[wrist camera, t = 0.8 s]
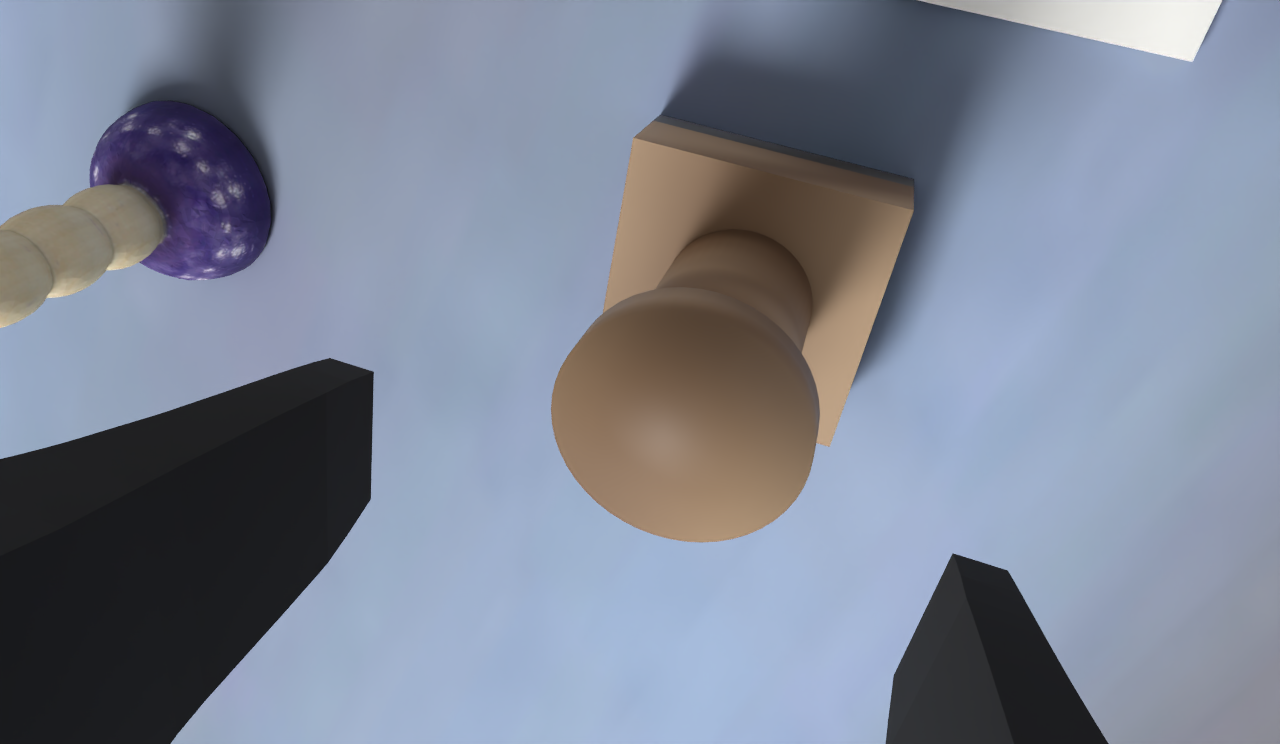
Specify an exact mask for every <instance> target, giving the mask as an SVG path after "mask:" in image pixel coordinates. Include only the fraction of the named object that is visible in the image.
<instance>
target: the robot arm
mask: <svg viewBox="0 0 1280 744" xmlns="http://www.w3.org/2000/svg"><path fill="white" fill-rule="evenodd" d="M373 376H374V372H372V371H369V370H366V369H363V368H360V367H357V366H353V365H350V364H347V363H344V362H341V361H337V360H334V359H331V358H329V359H325V360H321V361H317V362H313V363H310V364H307V365H303V366H300V367H297V368H294V369H291V370H288V371H285V372H282V373H279V374H276V375H273V376H270V377H267V378H264V379H261V380H258V381H255V382H252V383H250V384H247V385H244V386H241V387H238V388H235V389H232V390H229V391H226V392H223V393H220V394H217V395H215V396H212V397H209V398H206V399H203V400H200V401H197V402H194V403H191V404H188V405H185V406H182V407H179V408H176V409H173V410H170V411H167V412H164V413H161V414H158V415H155V416H152V417H148V418H145V419H142V420H138V421H135V422H132V423H128V424H125V425H122V426H118V427H115V428H112V429H109V430H105V431H102V432H99V433H95V434H92V435H89V436H85V437H82V438H79V439H75V440H72V441H69V442H65V443H62V444H58V445H54V446H51V447H47V448H43V449H39V450H35V451H31V452H28V453H24V454H20V455H16V456H12V457H8V458H3V459H0V744H170V743H171V742H172V741H173V739H174V738H175V737H176V735H177V734H178V733H179V732H180V730H181V729H182V728H183V727H184V726H185V724H186V723H187V722H188V721H189V719H190V718H191V717H192V716H193V715H194V713H195V712H196V711H197V710H198V709H199V707H200V706H201V705H202V704H203V703H204V701H205V700H206V699H207V698H208V697H209V696H210V695H211V694H212V692H213V691H214V690H215V689H216V688H217V687H218V686H219V685H220V684H221V682H222V681H223V680H224V679H225V678H226V677H227V676H228V675H229V673H230V672H231V671H232V670H233V669H234V668H235V667H236V666H237V665H238V663H239V662H240V661H241V660H242V659H243V658H244V657H245V656H246V655H247V653H248V652H249V651H250V650H251V649H252V648H253V647H254V646H255V645H256V643H257V642H258V641H259V640H260V639H261V638H262V637H263V636H264V635H265V633H266V632H267V631H268V630H269V629H270V628H271V627H272V626H273V624H274V623H275V622H276V621H277V620H278V619H279V618H280V617H281V616H282V614H283V613H284V612H285V611H286V610H287V609H288V608H289V607H290V605H291V604H292V603H293V602H294V601H295V600H296V599H297V598H298V596H299V595H300V594H301V593H302V592H303V591H304V590H305V588H306V587H307V586H308V585H309V584H310V583H311V582H312V581H313V579H314V578H315V577H316V576H317V575H318V574H319V572H320V571H321V570H322V569H323V568H324V567H325V565H326V564H327V563H328V562H329V560H330V559H331V557H332V556H333V555H334V553H335V552H336V550H337V549H338V547H339V546H340V545H341V543H342V542H343V540H344V539H345V537H346V536H347V535H348V533H349V532H350V530H351V529H352V527H353V525H354V524H355V522H356V521H357V519H358V518H359V516H360V515H361V513H362V512H363V510H364V509H365V507H366V505H367V504H368V502H369V501H370V499H371V462H372V419H373ZM886 744H1108V742H1107V741H1106V739H1105V737H1104V736H1103V734H1102V733H1101V731H1100V729H1099V728H1098V726H1097V725H1096V723H1095V721H1094V720H1093V718H1092V716H1091V715H1090V713H1089V711H1088V710H1087V708H1086V706H1085V705H1084V703H1083V701H1082V700H1081V698H1080V696H1079V695H1078V693H1077V691H1076V690H1075V688H1074V686H1073V685H1072V683H1071V681H1070V679H1069V678H1068V676H1067V674H1066V673H1065V671H1064V669H1063V667H1062V666H1061V664H1060V662H1059V660H1058V659H1057V657H1056V655H1055V653H1054V652H1053V650H1052V648H1051V646H1050V645H1049V643H1048V641H1047V639H1046V638H1045V636H1044V634H1043V632H1042V630H1041V629H1040V627H1039V625H1038V623H1037V621H1036V620H1035V618H1034V616H1033V614H1032V613H1031V611H1030V609H1029V607H1028V605H1027V604H1026V602H1025V600H1024V598H1023V596H1022V595H1021V593H1020V591H1019V589H1018V587H1017V586H1016V584H1015V582H1014V581H1013V579H1012V577H1011V575H1010V574H1009V572H1008V571H1007V570H1004V569H1001V568H998V567H995V566H991V565H988V564H985V563H982V562H979V561H975V560H972V559H969V558H966V557H963V556H959V555H956V554H952V556H951V558H950V560H949V562H948V564H947V566H946V569H945V571H944V573H943V575H942V577H941V579H940V581H939V583H938V585H937V587H936V589H935V591H934V593H933V595H932V598H931V600H930V602H929V604H928V606H927V608H926V610H925V612H924V614H923V616H922V618H921V620H920V622H919V624H918V626H917V629H916V631H915V633H914V635H913V637H912V639H911V641H910V643H909V645H908V647H907V649H906V651H905V653H904V655H903V658H902V660H901V662H900V664H899V666H898V668H897V670H896V672H895V674H894V678H893V687H892V695H891V703H890V711H889V719H888V728H887V737H886Z"/></svg>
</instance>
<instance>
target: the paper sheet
mask: <svg viewBox="0 0 1280 744" xmlns="http://www.w3.org/2000/svg"><path fill="white" fill-rule="evenodd" d="M918 1H923V2H927V3H932V4H936V5H941V6H945V7H950V8H954V9H958V10H963V11H967V12H972V13H976V14H981V15H985V16H990V17H994V18H999V19H1003V20H1008V21H1012V22H1017V23H1021V24H1025V25H1030V26H1034V27H1039V28H1043V29H1048V30H1052V31H1057V32H1061V33H1066V34H1070V35H1075V36H1079V37H1084V38H1088V39H1092V40H1097V41H1101V42H1106V43H1110V44H1115V45H1119V46H1124V47H1128V48H1133V49H1137V50H1142V51H1146V52H1151V53H1155V54H1159V55H1164V56H1168V57H1173V58H1177V59H1182V60H1186V61H1191V62H1193V60H1194V58H1195V56H1196V53H1197V51H1198V49H1199V47H1200V45H1201V43H1202V41H1203V39H1204V37H1205V35H1206V33H1207V31H1208V29H1209V27H1210V25H1211V23H1212V20H1213V18H1214V16H1215V14H1216V12H1217V10H1218V8H1219V6H1220V4H1221V2H1222V0H918Z"/></svg>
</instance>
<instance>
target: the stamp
mask: <svg viewBox="0 0 1280 744" xmlns="http://www.w3.org/2000/svg"><path fill="white" fill-rule="evenodd" d="M913 211H914V179H911V178H908V177H904V176H900V175H896V174H892V173H888V172H884V171H880V170H876V169H872V168H868V167H864V166H860V165H856V164H852V163H849V162H845V161H841V160H837V159H833V158H829V157H825V156H821V155H817V154H813V153H809V152H805V151H801V150H797V149H793V148H790V147H786V146H782V145H778V144H774V143H770V142H766V141H762V140H758V139H754V138H750V137H746V136H742V135H738V134H734V133H731V132H727V131H723V130H719V129H715V128H711V127H707V126H703V125H699V124H695V123H691V122H687V121H683V120H679V119H676V118H672V117H668V116H664V115H659V116H658V117H657V118H656V119H655V120H654V121H652V122H651V123H650V124H649V125H648V126H647V127H645V128H644V129H643V130H642V131H641V132H640V133H638V134H637V135H636V136H635V137H634V138H633V143H632V148H631V154H630V160H629V166H628V171H627V177H626V183H625V189H624V194H623V200H622V206H621V212H620V217H619V223H618V229H617V235H616V240H615V246H614V252H613V258H612V263H611V269H610V275H609V281H608V286H607V292H606V298H605V304H604V309H603V314H602V315H601V316H600V317H598V318H597V319H596V320H595V321H594V323H593V324H592V325H591V326H590V327H589V329H588V330H587V331H586V332H585V334H584V335H583V336H582V338H581V339H580V340H579V342H578V343H577V344H576V346H575V347H574V348H573V349H572V351H571V352H570V353H569V355H568V356H567V358H566V360H565V361H564V363H563V365H562V366H561V368H560V371H559V373H558V376H557V378H556V381H555V385H554V390H553V394H552V405H551V414H552V425H553V430H554V435H555V439H556V442H557V445H558V448H559V450H560V453H561V455H562V457H563V459H564V461H565V463H566V465H567V467H568V468H569V470H570V471H571V473H572V475H573V476H574V478H575V479H576V480H577V482H578V483H579V484H580V485H581V486H582V488H583V489H584V490H585V491H586V492H587V493H588V494H589V495H590V496H591V497H592V498H593V499H594V500H595V501H596V502H597V503H598V504H600V505H601V506H602V507H603V508H605V509H606V510H607V511H608V512H610V513H611V514H613V515H614V516H616V517H618V518H619V519H621V520H622V521H624V522H626V523H628V524H630V525H632V526H634V527H636V528H638V529H640V530H643V531H646V532H648V533H651V534H654V535H657V536H661V537H665V538H668V539H674V540H680V541H687V542H717V541H723V540H729V539H734V538H737V537H741V536H744V535H747V534H750V533H752V532H754V531H757V530H759V529H761V528H763V527H764V526H766V525H768V524H769V523H771V522H773V521H774V520H775V519H777V518H778V517H779V516H780V515H782V514H783V513H784V512H785V511H786V510H787V509H788V508H789V507H790V506H791V504H792V503H793V502H794V501H795V500H796V498H797V497H798V495H799V494H800V492H801V491H802V489H803V487H804V485H805V483H806V481H807V478H808V476H809V473H810V470H811V466H812V462H813V457H814V452H815V446H816V443H818V444H822V445H825V446H828V447H830V444H831V441H832V438H833V436H834V433H835V430H836V427H837V424H838V422H839V419H840V416H841V413H842V410H843V408H844V405H845V402H846V399H847V396H848V394H849V391H850V388H851V385H852V382H853V380H854V377H855V374H856V371H857V368H858V366H859V363H860V360H861V357H862V354H863V352H864V349H865V346H866V343H867V340H868V338H869V335H870V332H871V329H872V326H873V323H874V321H875V318H876V315H877V312H878V309H879V307H880V304H881V301H882V298H883V295H884V293H885V290H886V287H887V284H888V281H889V279H890V276H891V273H892V270H893V267H894V265H895V262H896V259H897V256H898V253H899V251H900V248H901V245H902V242H903V239H904V237H905V234H906V231H907V228H908V225H909V223H910V220H911V217H912V214H913Z"/></svg>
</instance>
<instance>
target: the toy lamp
mask: <svg viewBox="0 0 1280 744" xmlns="http://www.w3.org/2000/svg"><path fill="white" fill-rule="evenodd" d="M270 225H271V215H270V200H269V197H268V193H267V187H266V185H265V183H264V180H263V177H262V175H261V173H260V171H259V168H258V166H257V164H256V163H255V161H254V159H253V157H252V155H251V154H250V153H249V151H248V150H247V149H246V147H245V146H244V145H243V143H242V142H241V141H240V140H239V138H238V137H237V136H236V135H235V134H234V133H233V132H231V131H230V130H229V129H228V128H227V127H226V126H225V125H223V124H222V123H221V122H220V121H218V120H217V119H216V118H215V117H214V116H212V115H210V114H208V113H206V112H204V111H201V110H199V109H197V108H195V107H193V106H191V105H188V104H185V103H180V102H174V101H153V102H150V103H147V104H144V105H141V106H139V107H136V108H134V109H132V110H131V111H129V112H127V113H126V114H125V115H123V116H121V117H120V118H119V119H117V120H116V122H114V123H113V124H112V125H111V126H110V127H109V128H108V129H107V130H106V131H105V133H104V134H103V136H102V137H101V139H100V140H99V142H98V144H97V147H96V150H95V152H94V154H93V158H92V161H91V166H90V188H87V189H85V190H83V191H80V192H78V193H76V194H75V195H73V196H72V197H70V198H69V199H68V200H67V201H66V202H65V203H64V204H63V205H47V206H40V207H36V208H32V209H29V210H26V211H24V212H21V213H19V214H17V215H15V216H13V217H11V218H10V219H9V220H7V221H6V222H5V223H4V224H2V225H1V226H0V328H2V327H5V326H8V325H11V324H13V323H16V322H18V321H20V320H22V319H24V318H25V317H27V316H29V315H30V314H32V313H33V312H35V311H36V310H37V309H38V308H39V307H40V306H41V305H42V304H43V302H44V301H45V299H46V298H54V297H62V296H67V295H71V294H74V293H76V292H79V291H81V290H83V289H85V288H87V287H88V286H90V285H91V284H93V283H94V282H95V281H97V280H98V279H99V278H100V277H101V276H102V275H103V273H104V272H105V271H106V270H117V269H123V268H126V267H130V266H132V265H134V264H136V263H138V262H140V263H141V264H143V265H145V266H146V267H148V268H150V269H152V270H154V271H157V272H159V273H162V274H165V275H169V276H172V277H177V278H179V279H186V280H207V279H215V278H220V277H225V276H228V275H232V274H234V273H236V272H238V271H241V270H243V269H245V268H246V267H248V266H249V265H251V264H252V263H253V262H254V261H255V260H256V258H257V257H258V256H259V255H260V253H261V252H262V250H263V249H264V246H265V244H266V241H267V237H268V233H269V228H270Z"/></svg>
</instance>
